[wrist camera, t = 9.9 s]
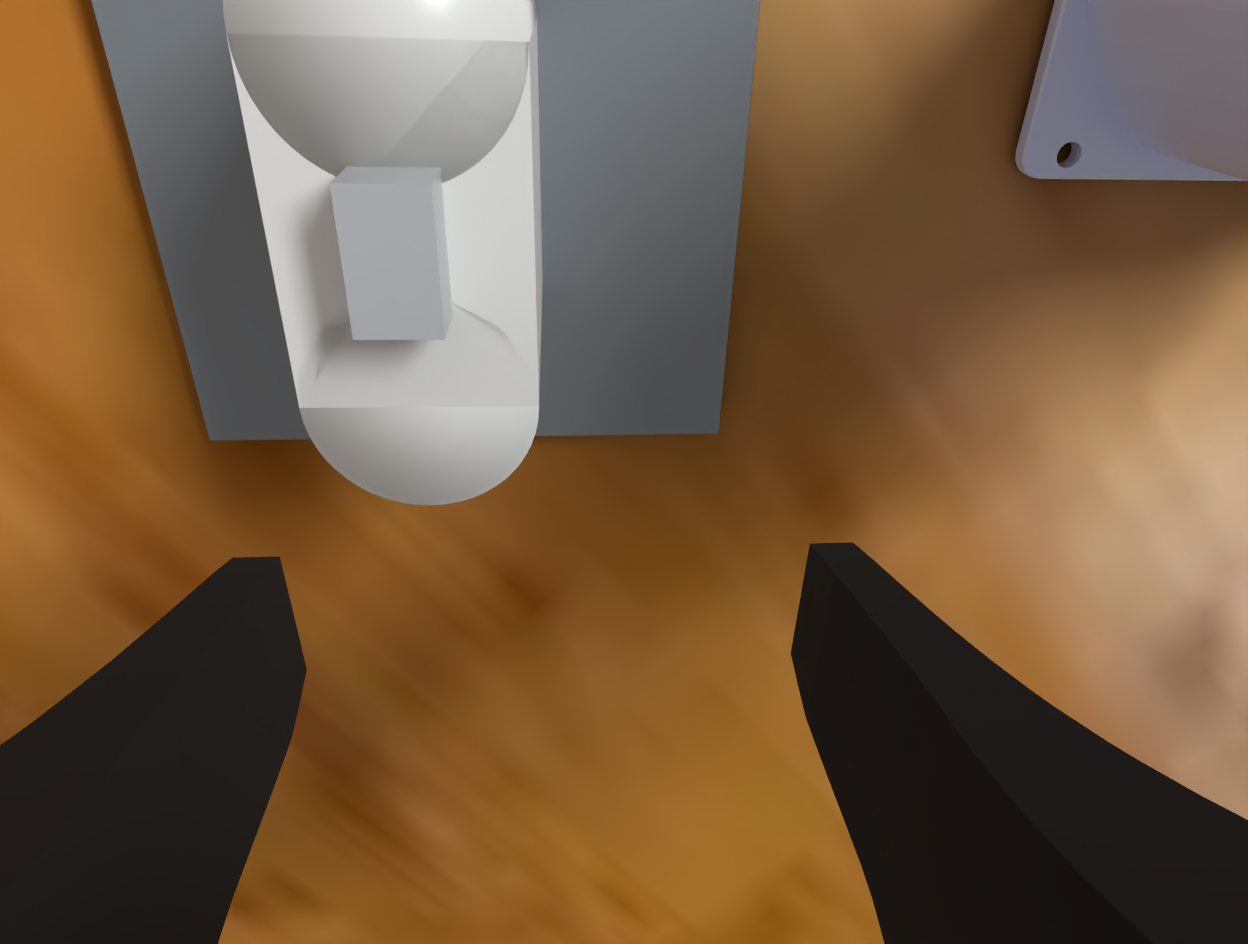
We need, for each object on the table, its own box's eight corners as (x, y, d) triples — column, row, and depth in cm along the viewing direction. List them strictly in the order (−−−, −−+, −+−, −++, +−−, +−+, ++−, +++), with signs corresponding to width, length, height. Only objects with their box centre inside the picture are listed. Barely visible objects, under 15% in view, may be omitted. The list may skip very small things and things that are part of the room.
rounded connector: (534, -101, 14) (521, -152, 8) (544, 358, 19) (540, 538, 13) (321, -110, 14) (150, -169, 8) (382, 358, 18) (302, 543, 13)
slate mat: (767, -184, 15) (778, -192, 14) (713, 418, 21) (718, 433, 20) (56, -216, 14) (30, -226, 13) (221, 424, 20) (209, 440, 19)
